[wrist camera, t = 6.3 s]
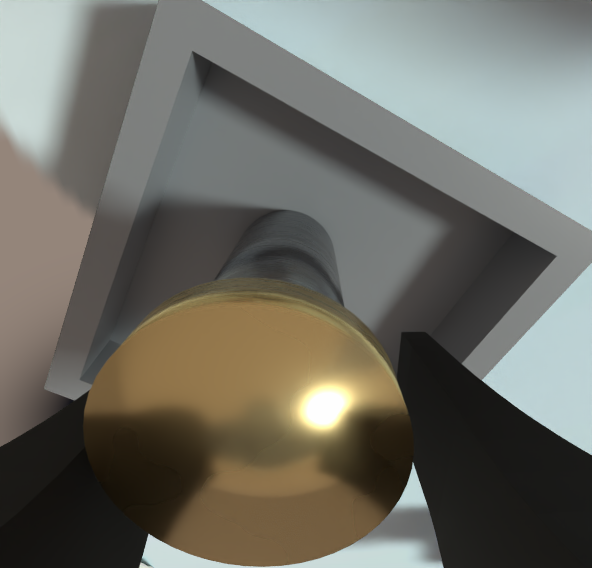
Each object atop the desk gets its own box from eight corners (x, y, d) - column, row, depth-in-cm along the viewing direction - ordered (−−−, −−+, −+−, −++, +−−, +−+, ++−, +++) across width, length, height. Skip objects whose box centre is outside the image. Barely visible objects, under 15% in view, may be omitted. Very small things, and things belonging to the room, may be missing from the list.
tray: (551, 211, 14) (610, 242, 11) (355, 447, 19) (363, 506, 16) (198, 3, 11) (165, -21, 9) (86, 339, 17) (43, 388, 14)
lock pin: (351, 187, 13) (421, 297, 5) (353, 315, 15) (408, 565, 6) (211, 196, 13) (39, 315, 5) (229, 320, 15) (124, 567, 7)
